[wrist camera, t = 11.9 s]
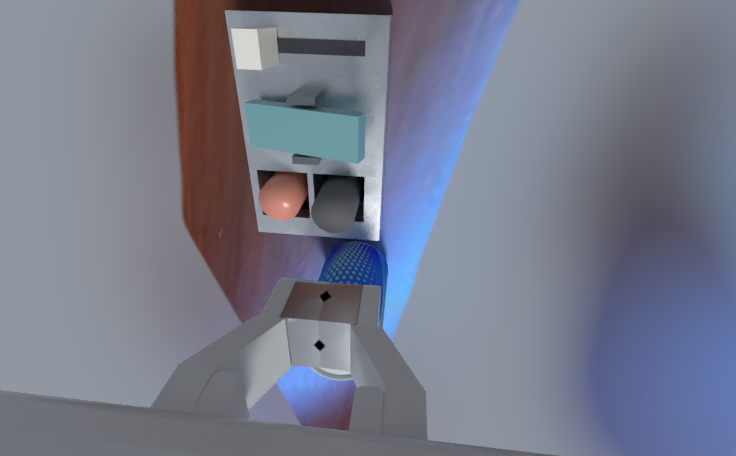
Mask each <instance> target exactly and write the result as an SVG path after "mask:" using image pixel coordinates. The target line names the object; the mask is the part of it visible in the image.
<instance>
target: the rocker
mask: <svg viewBox="0 0 736 456" xmlns="http://www.w3.org/2000/svg"><path fill="white" fill-rule="evenodd" d="M244 104H245V111H246V118H247V125H248V131H249V138H250V145H251V146H253V147H259V148H265V149H271V150H277V151H283V152H289V153H295V154H301V155H307V156H313V157H319V158H325V159H331V160H337V161H343V162H349V163H355V164H359V163H360V162H361V161H362V160H363V159H364V158H365V124H366V112H358V111H350V110H341V109H333V108H325V107H316V106H305V105H287V103H283V102H275V101H267V100H258V99H254V100H251V101H248V102H244Z"/></svg>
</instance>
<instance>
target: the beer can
mask: <svg viewBox="0 0 736 456" xmlns="http://www.w3.org/2000/svg"><path fill="white" fill-rule="evenodd" d="M387 275H388V266H387V262H386V260H385V258H384V256H383V255H382V254H381V253H380V251H378V250H377V249H376V248H374V247H373V246H371V245H369V244H367V243H364V242H360V241H351V242H345V243H342V244H339V245H337V246H336V247H334V248H333V249H332V250H331V251H330V252H329V254H328V255H327V257H326V260H325V263H324V266H323V269H322V272H321V275H320V277H319V280H318V281H322V282H331V283H343V284H356V285H375V286H381V299H380V316H379V327H381V328H383V319H384V308H385V297H386V286H387ZM310 368H311V369H312V370H313V371H315V372H316V373H318V374H319V375H321V376H324V377H326V378H330V379H334V380H351V379H353V378H352V376H351V373H350V371H342V370H334V369H327V368H318V367H310Z"/></svg>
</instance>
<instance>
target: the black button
mask: <svg viewBox="0 0 736 456" xmlns="http://www.w3.org/2000/svg"><path fill="white" fill-rule="evenodd" d="M361 194H362V185H361V183H360V181H359V179H358V178H357V177H356V176H343V175H328V176H327V178H326V179H325V181H324V183H323V185H322V187H321V189H320V191H319V193H318V195H317V197H316V199H315V201H314V203H313V205H312V208H311V216H312V219H313V221H314V222H315V224H316V225H317V226H318V227H319V228H320V229H322V230H324V231H326V232H329V233H342V232H344V231H346V230H348V229H349V228H350V227H351V226H352V225H353V223H354V220H355V216H356V213H357V209H358V205H359V202H360V198H361Z"/></svg>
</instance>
